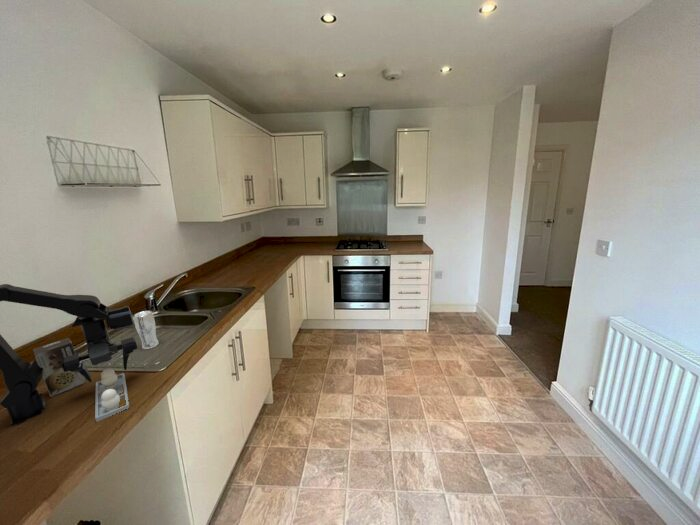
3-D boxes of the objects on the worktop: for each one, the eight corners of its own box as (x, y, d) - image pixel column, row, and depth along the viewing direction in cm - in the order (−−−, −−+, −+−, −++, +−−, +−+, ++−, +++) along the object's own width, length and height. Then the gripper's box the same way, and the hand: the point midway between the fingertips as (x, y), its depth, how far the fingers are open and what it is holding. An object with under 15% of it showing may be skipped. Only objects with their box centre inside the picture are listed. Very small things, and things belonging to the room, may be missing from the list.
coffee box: (82, 376, 106) (69, 336, 102) (85, 383, 102) (72, 342, 98) (47, 390, 100) (32, 348, 96) (49, 397, 96) (33, 354, 92)
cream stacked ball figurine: (103, 392, 97) (98, 375, 95) (103, 385, 100) (98, 369, 98) (119, 385, 99) (114, 369, 98) (119, 380, 103) (114, 364, 101)
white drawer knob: (103, 415, 86) (98, 397, 84) (103, 407, 89) (98, 390, 88) (122, 408, 89) (117, 390, 87) (121, 400, 92) (116, 383, 90)
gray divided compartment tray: (96, 422, 84) (95, 418, 83) (97, 386, 100) (95, 382, 100) (129, 409, 88) (128, 404, 88) (124, 376, 105) (123, 372, 105)
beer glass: (162, 344, 126) (154, 312, 123) (143, 351, 121) (134, 318, 118) (157, 339, 131) (149, 309, 127) (139, 346, 126) (130, 314, 122)
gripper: (53, 354, 83) (69, 401, 87) (133, 332, 94) (144, 373, 98) (57, 341, 91) (72, 383, 95) (130, 321, 103) (140, 360, 107)
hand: (108, 375), depth 99 cm, fingers open, 9 cm apart
